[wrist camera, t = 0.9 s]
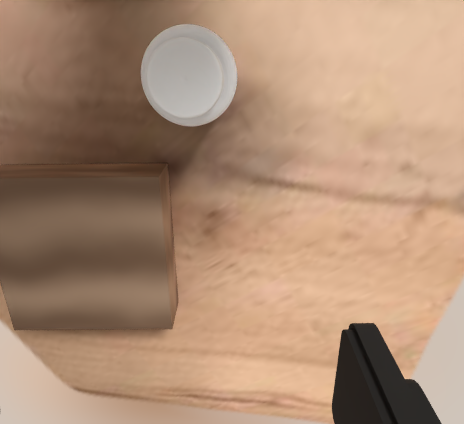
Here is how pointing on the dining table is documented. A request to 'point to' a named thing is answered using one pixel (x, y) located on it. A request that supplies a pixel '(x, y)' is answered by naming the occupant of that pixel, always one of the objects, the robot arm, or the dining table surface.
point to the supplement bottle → (189, 75)
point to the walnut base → (87, 246)
